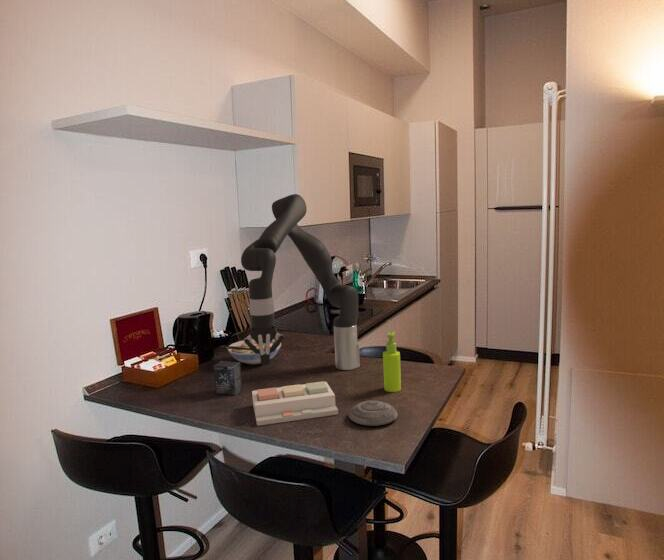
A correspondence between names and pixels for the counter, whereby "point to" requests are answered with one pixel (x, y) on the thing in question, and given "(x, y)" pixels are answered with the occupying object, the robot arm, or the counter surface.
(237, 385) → the box
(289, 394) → the sand key
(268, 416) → the keypad
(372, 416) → the flying saucer
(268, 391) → the coral key
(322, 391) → the sage key
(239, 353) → the ramen bowl
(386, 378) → the soap dispenser
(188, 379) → the counter surface
